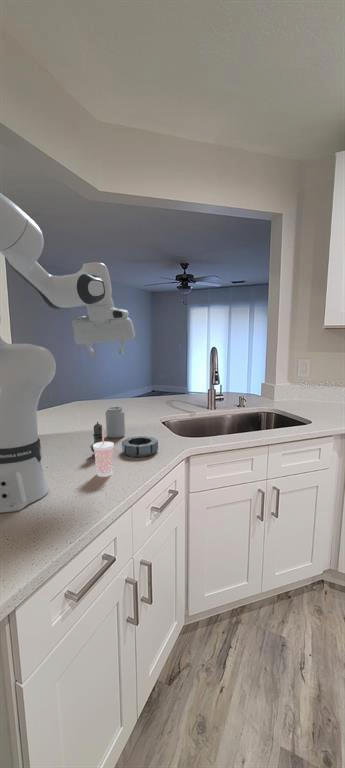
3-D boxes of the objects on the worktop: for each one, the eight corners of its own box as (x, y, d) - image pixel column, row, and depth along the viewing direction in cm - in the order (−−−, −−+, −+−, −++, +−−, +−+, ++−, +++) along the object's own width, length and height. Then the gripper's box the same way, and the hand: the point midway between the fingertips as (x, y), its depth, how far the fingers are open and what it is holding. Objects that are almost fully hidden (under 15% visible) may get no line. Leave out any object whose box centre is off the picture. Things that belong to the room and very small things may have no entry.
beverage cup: (93, 471, 102) (90, 426, 101) (113, 468, 105) (111, 424, 103) (96, 479, 97) (93, 431, 95) (117, 475, 99) (115, 429, 97)
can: (127, 433, 143) (125, 405, 142) (122, 439, 136) (121, 409, 134) (109, 433, 144) (108, 406, 142) (104, 438, 136) (103, 409, 135)
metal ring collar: (127, 459, 112) (127, 448, 112) (119, 448, 123) (119, 438, 123) (161, 454, 116) (161, 443, 116) (151, 444, 128) (151, 434, 127)
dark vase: (104, 458, 113) (102, 424, 112) (87, 458, 115) (85, 423, 113) (110, 453, 119) (109, 419, 118) (95, 452, 120) (93, 419, 119)
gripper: (67, 317, 110) (75, 359, 113) (130, 311, 109) (135, 354, 113) (73, 316, 116) (80, 355, 120) (132, 310, 115) (137, 350, 119)
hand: (107, 355), depth 116 cm, fingers open, 8 cm apart
